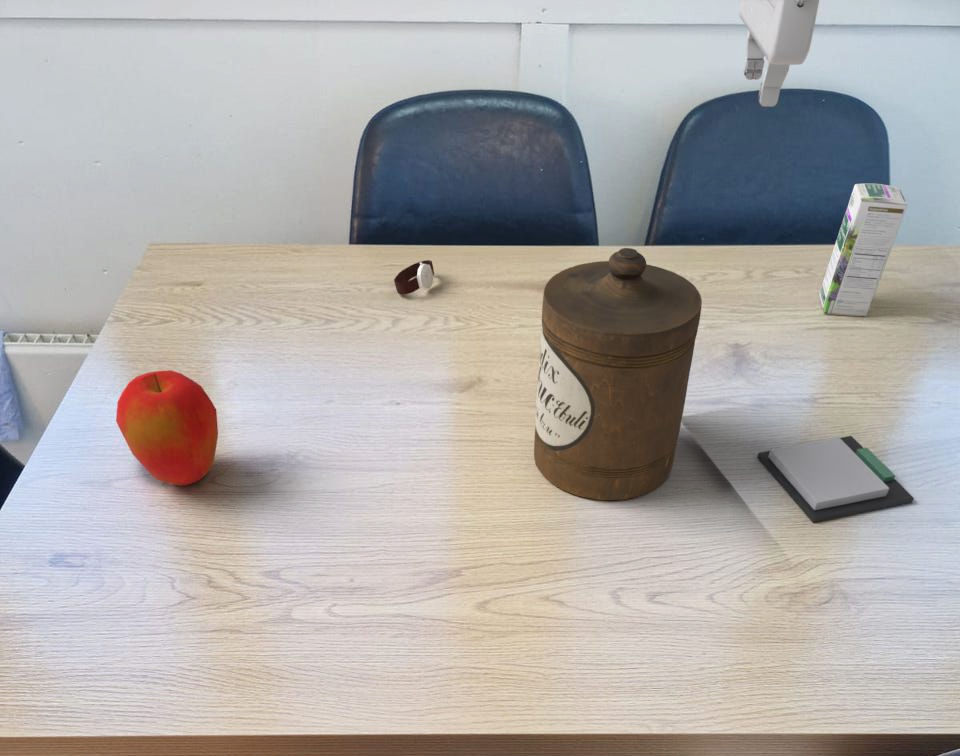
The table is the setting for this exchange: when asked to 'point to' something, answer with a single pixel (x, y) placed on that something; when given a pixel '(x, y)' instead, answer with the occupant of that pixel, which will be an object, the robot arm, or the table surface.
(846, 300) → the syrup box
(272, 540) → the table surface
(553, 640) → the table surface
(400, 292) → the watch
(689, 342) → the wooden container
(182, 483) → the apple
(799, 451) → the scale
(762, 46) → the robot arm
